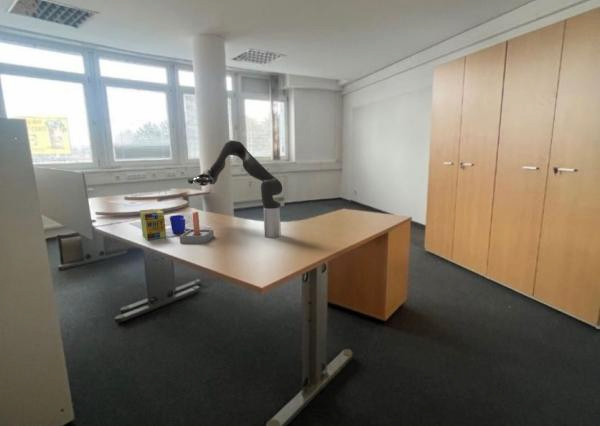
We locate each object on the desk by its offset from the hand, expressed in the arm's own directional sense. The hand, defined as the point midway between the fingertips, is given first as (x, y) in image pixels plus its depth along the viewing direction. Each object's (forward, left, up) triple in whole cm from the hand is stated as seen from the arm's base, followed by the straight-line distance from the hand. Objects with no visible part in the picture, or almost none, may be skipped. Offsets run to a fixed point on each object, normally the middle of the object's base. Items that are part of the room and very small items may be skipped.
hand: (198, 181), depth 183 cm
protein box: (+28, +6, -32) cm, 43 cm away
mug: (+16, -4, -32) cm, 36 cm away
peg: (-2, +11, -32) cm, 34 cm away
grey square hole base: (-2, +11, -32) cm, 34 cm away
